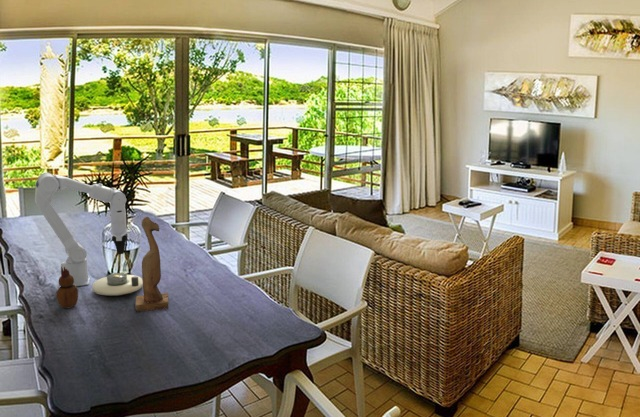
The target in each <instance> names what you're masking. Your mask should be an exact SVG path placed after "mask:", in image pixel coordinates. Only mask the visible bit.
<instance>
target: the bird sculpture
mask: <svg viewBox="0 0 640 417" xmlns="http://www.w3.org/2000/svg"><path fill="white" fill-rule="evenodd" d="M141 227H142V229H143V231H144V233H145V237H146V238H147V241H148V242H147V243H148V246H149V250H148V251H147V252H146V253H145V255H144V256H143V257H142V261H141V276H142V277H141V278H142V280H143V286H142V291H143V294H142V295H136V297H135V298H136V299H135V304H134V305H135V311H136V312H135V313H137V312H146V311H148V312H149V311H157V310H158V311H160V310H168V309H169V292H166V293H164V292H163V293H161V291H160V289H159V287H158V285H159V283H160V282H161V278H162V271H161V270H162V269H161V256H160V249H159V248H160V247H159V245H158V243H157V240H156V239H155V236H154V234H153V232H154V231H156V232H160V226H159V224H158V223H157V222H155V221H153V220H152V219H151V218H150V217H149V216H145V217H143V219H142V220H141Z"/></svg>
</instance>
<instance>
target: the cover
mask: <svg viewBox="0 0 640 417" xmlns="http://www.w3.org/2000/svg"><path fill="white" fill-rule="evenodd" d="M127 275H128V274H127V273H124V272H115V273H112V274H111V273H110V274H109V275H107V276H106V277H107V284H108V285H110V286H119V285H123V284H126V283H127Z"/></svg>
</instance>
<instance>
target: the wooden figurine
mask: <svg viewBox="0 0 640 417" xmlns="http://www.w3.org/2000/svg"><path fill="white" fill-rule="evenodd" d="M73 283H74V278H73V276H71V275H70V273H69V270H67V269H65V267H64V271H63V268H62V267H61V266H60V277H59V278H58V285H59V287H58V289H57V290H56V300H57V303H58V305H59V306H60V307H61V308H62V309H70V308H72V307H75V306H76V304H77V302H78V299H79V290H78V286H75V285H73Z"/></svg>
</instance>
